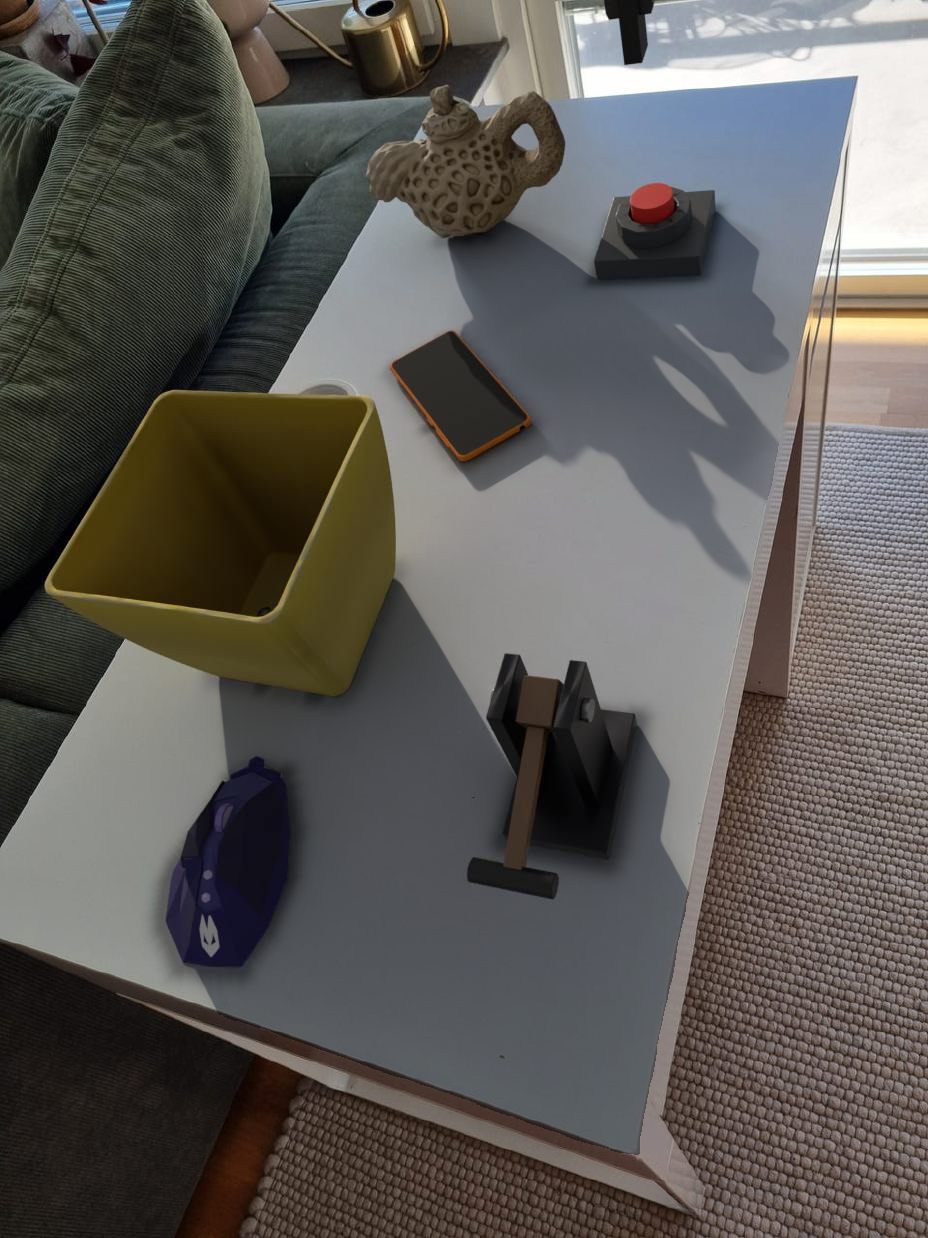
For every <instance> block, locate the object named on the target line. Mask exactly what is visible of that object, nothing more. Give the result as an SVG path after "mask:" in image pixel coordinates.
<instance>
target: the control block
mask: <svg viewBox="0 0 928 1238" xmlns="http://www.w3.org/2000/svg"><path fill="white" fill-rule="evenodd" d="M670 187H671V188H672V190H673V197H674V208H675V209H674V212H673V214H672V215H671V216H670V217H669V218H668V219H665V220H663V221H660V222H658V223H654V224H640V223H637V222H635V221H634V220H633V218H632V212H631V204H630V198H631V195H632V194H630V195H625V196H615V197H613V199H612V203H611V205H610V209H609V212H608V215H607V217H606V221H605V225H604V228H603V231H602V235H601V237H600V241H599V244H598V247H597V251H596V254H595V256H594V260H593V263H594V269H595V275H596V280H598V281H600V280H602V281H603V280H605V281H606V280H627V279H652V278H676V277H700V276H702V271H703V267H704V262H705V260H706V259H705V258H706V254H707V249H708V245H709V241H710V236H711V232H712V227H713V223H714V218H715V213H716V211H717V210H716V209H717V208H716V190H715V189H707V190H694V191H685V190H684V189H680V188H678V187H673V186H670Z"/></svg>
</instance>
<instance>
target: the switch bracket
mask: <svg viewBox="0 0 928 1238" xmlns="http://www.w3.org/2000/svg"><path fill="white" fill-rule="evenodd" d="M524 675H528V676H530V675H529V673H528V670H527V668H526V666H525V664H524V661H523V659H522V656H521V654H518V653H508V652H505V653H504V654H503V658H502V661H501V665H500V667H499V671H498V674H497V678H496V682H495V685H494V687H493V689H492V691H491V694H490V701H489V702H490V703H489V705H488V709H487V712H486V717H485V720H486V721H487V723H488V725H489V727H490V729H491V731H492V732H493V734H494V736H495V738H496V740H497V742H498V744H499V746H500V748H501V750H502V752H503V754H504V755H505V757H506V760H507V761H508V764H509V765H510V767H511V769H512V771H513V772H514V774H515V776H516V780H515V781H516V782H515V785H514V788H513V792H512V796H511V800H510V805H509V807H508V812H507V815H506V818H505V822H504V826H503V829H502V835H503V837H504V838H505V840H506V841H507V840H508V834H509V829H510V823H511V817H512V811H513V805H514V800H515V794H516V788H517V782H518V776H519V771H520V765H521V759H522V753H523V747H524V742H525V736H526V730H527V729H526V728H524V727H523V726H522V725H520V724H519V723H517V722H516V721H515V719H516V714H517V708H518V702H519V697H520V691H521V685H522V680H523V676H524ZM564 677H565V678H564V682H563V684H564V685H563V689H562V693H561V697H560V701H559V705H558V709H557V713H556V717H555V721H554V725H553V728H554V731H555V733H552V732H548V738H547V744H546V750H545V756H544V762H543V768H542V774H541V780H540V786H539V792H538V798H537V804H536V810H535V816H534V822H533V828H532V834H531V840H530V846H535V847H539V848H545V849H550V850H555V851H560V852H561V851H562V852H566V853H571V854H577V855H583V856H588V857H594V858H599V859H603V860H610V857H611V853H612V848H613V842H614V837H615V832H616V828H617V823H618V818H619V813H620V809H621V804H622V799H623V794H624V788H625V784H626V780H627V779H626V778H627V774H628V768H629V763H630V759H631V754H632V748H633V745H634V741H635V740H634V739H635V736H636V735H635V734H636V730H637V724H638V720H637V717H636V713H633V712H627V711H617V710H610V709H602V708H601V705H600V702H599V699H598V696H597V692H596V689H595V685H594V683H593V679H592V676H591V672H590V668H589V666H588V662H587V661H583V660H576V659H575V660H573V659H570V660H569V661H568V665H567V670H566V673H565V676H564Z"/></svg>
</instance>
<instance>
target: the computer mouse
mask: <svg viewBox="0 0 928 1238" xmlns="http://www.w3.org/2000/svg"><path fill="white" fill-rule="evenodd" d="M265 761H266V759H265V758H263V757H260V756H257V755H255V756H253V757H252V758H250V759H249V761H248V765H247V766H246V767H243V768H241V769H239V770H237V771H235V772H233V773H231V774H230V779H229V780H226V781H224V780H221V782H220V783H219V785H218V786H217V788H216V789H215V792H214V793H213V794H212V796H211V797H210V799H209V801H208V802H207V804H206V805H205V806H204V808H203V809H202V811H201V812H200V813H199V815H198V816H197V818H196V819H195V821H194V822H193V824H191V826H190V828H189V829H188V830H187V833H186V837H185V840H184V844H183V848H182V851H181V855H180V858H179V860H178V861H177V864H176V865H175V866H174V869H173V870H172V872H171V875H170V876H171V877H170V885H169V892H168V899H167V905H166V913H165V923H166V925H167V927H168V930H169V932H170V934H171V937H172V939H173V941H174V944H175V946H176V948H177V949H176V950H177V951H178V953H179V956H180V959H181V961H182V963H186V964H192V965H198V966H199V965H200V966H204V967H205V966H206V967H220V968H221V967H231V968H232V967H234V968H238V967H240V968H241V967H242V966H243V965H244V964H245V962H246V961H247V959H248V958H249V956H250V955H251V953H252V952H253V950H254V949H255V947H256V946H257V944H258V943H259V942H260V940H261V939H262V937H263V936H264V934H265V933H266V931H267V930H268V928H269V927H270V925H271V922H272V919H273V917H274V914H275V912H276V909H277V906H278V904H279V901H280V899H281V896H282V894H283V892H284V889H285V886H286V884H287V881H288V878H289V864H290V848H291V836H292V835H291V834H292V833H291V832H292V831H291V830H292V829H291V820H290V809H289V800H288V798H289V797H288V790H287V785H286V783H285V781H284V780H283V778H282V777H283V776H282V775H283V772H282V771H278V770H275V769H271V768H268V767H265V763H266V762H265Z"/></svg>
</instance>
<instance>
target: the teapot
mask: <svg viewBox="0 0 928 1238" xmlns="http://www.w3.org/2000/svg"><path fill="white" fill-rule="evenodd" d="M429 99H430V101H431V104H432V108H431V109H430V110H429V111H428V113H427V114H426V116H425V118H424V120H423V121H422V122H421V128H422V132H423V133H424V134H425V136H426V138H425V139H422V138H418V139H414V140H412V141H411V140H410V141H409V140H408V139H407V140H399V141H398V140H396V141H390V142H389V141H388V142H386V143H384V144H382V146H381V147H379V148H377V149H376V151H374V153H373V154H372V156H371V158H370V159H369V161H368V162H367V163H368V164H367V169H366V174H365V179H366V181H367V182H368V184H369V193H370V194H371V195H372V196H374V198H375V200H376V201H382V202H384V203H391V202H392V201H393V200H394V199H398V200H399V201H400V202H401V203H405V204H407V206H409V207H410V209H411V210H412V213H413V216H414V217H415V218H416V219H417V220H418V221H419V222H421V223H422V225H424V226H425V227H426V228H428V229H430V230H431V231H432V232H433V233H434V234H436V236H438V237H440V238H441V239H447V238H450V237H452V236H453V237H455V236H456V237H461V238H470V237H473V236H477V235H482V234H484V233H489V232H490V231H492V230H493V228H494V227H495V226H497V225H498V224H499V223H500V222H502V221H504V220H505V219H506V218H508V217H509V216H510V214H511V213H512V212H513V211H514V209H515V208H516V206H517V205H518V203H519V202H520V199H521V198H522V196H523V194H524V193H525V191H526V190H528V189H531V188H541V187H544V186H546V185H548V184H549V182H551V180H552V179H554V177H556V176H557V175H558V174H559V172H560V171H561V167H562V166H563V161H564V157H565V152H566V151H565V150H566V139H565V136H564V133H563V131H562V128H561V126H560V123H559V121H558V119H557V116H556V114H555V112H554V110H553V108H552V106H551V104H549V102H548V101H546V99H544V98H543V97H542V96H541V95H539V93H537V92H535V91H534V90H533V91H527V92H525V93H521V94H519V95H517V96H515V97H514V98H512V99H511V100H510V101H508V103H506V104H505V105H504V106H502V107H500V108H499V109H498V110H497V111H495V112H494V113H493V114H491V115H489V116H488V117H487V118H485V119H483V120H480V119H479V116H478V113H477V112H476V111H475V110H474V109H473V108H472V107H469V104H467V103H466V102H465V101H461V100H457V99H454V95H453V92H452V89H451V87H450V85H448V84H445V85H442V86H438V87H435V88H433V89H432V90H431V91H429ZM523 125H528V126H529V127H531V128H532V131H533V133H534V136H535V137H536V139H537V142H538V147H536V148H534V149H529V150H528V149H526V148H525V147H522V146H521V145H519V144H518V143H517V142H516V141H515V140H514V139H513V135H514V134H515V133H516V131H517V130H518V129H520V127H522V126H523Z"/></svg>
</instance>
